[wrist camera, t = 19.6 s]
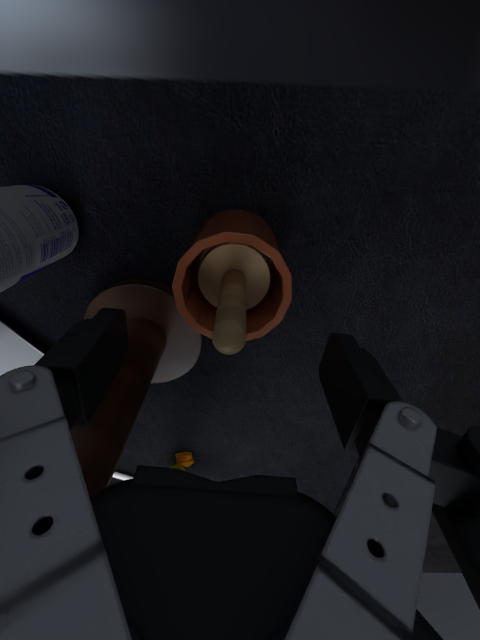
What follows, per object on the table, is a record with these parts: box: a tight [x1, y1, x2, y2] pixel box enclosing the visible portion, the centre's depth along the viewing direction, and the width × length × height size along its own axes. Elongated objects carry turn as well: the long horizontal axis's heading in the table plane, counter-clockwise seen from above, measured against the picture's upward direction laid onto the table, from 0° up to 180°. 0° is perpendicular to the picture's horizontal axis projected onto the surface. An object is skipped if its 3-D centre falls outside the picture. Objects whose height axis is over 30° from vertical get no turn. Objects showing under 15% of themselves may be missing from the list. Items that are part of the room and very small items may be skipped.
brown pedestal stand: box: [70, 279, 203, 497], centre depth 15 cm, size 13×13×25 cm
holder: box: [172, 209, 292, 341], centre depth 19 cm, size 6×6×8 cm
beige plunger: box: [198, 242, 270, 355], centre depth 17 cm, size 5×5×12 cm
